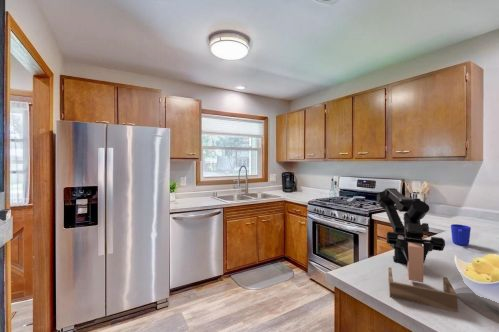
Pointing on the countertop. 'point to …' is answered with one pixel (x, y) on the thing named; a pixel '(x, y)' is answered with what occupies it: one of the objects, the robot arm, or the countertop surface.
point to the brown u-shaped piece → (425, 294)
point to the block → (415, 262)
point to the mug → (460, 234)
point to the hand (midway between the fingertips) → (415, 261)
